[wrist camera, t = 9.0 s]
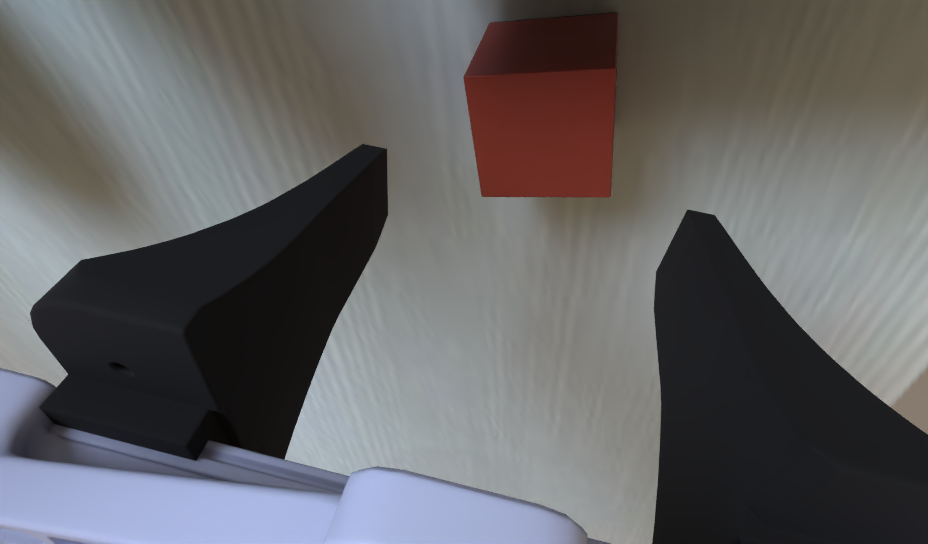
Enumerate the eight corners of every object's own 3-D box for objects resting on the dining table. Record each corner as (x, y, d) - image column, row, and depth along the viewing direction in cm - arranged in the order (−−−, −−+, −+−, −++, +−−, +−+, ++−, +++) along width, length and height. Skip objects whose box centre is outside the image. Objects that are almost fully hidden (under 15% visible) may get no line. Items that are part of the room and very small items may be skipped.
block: (613, 130, 19) (610, 198, 16) (501, 133, 20) (481, 197, 17) (618, 11, 16) (616, 68, 13) (489, 22, 17) (462, 76, 14)
